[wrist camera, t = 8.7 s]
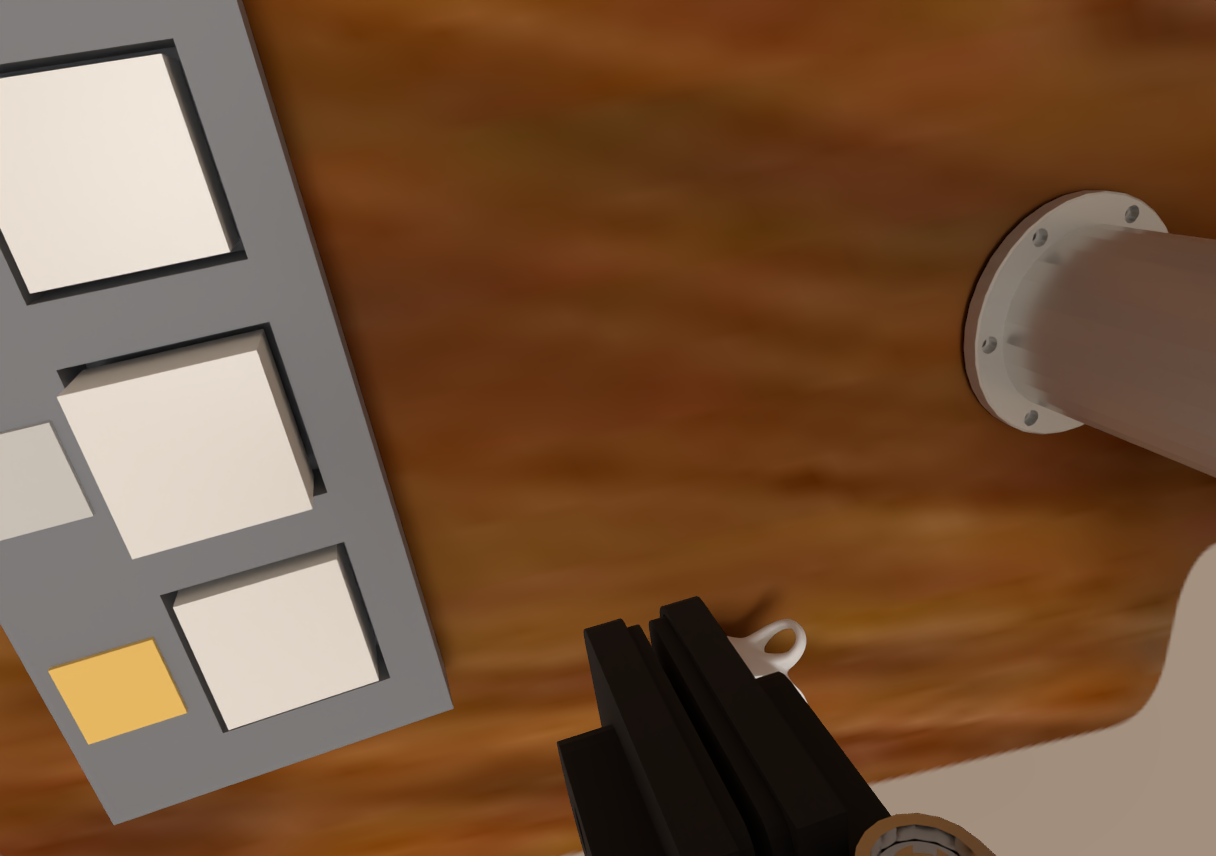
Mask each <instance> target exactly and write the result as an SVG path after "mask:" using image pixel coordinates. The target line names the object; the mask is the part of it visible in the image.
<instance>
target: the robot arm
mask: <svg viewBox="0 0 1216 856" xmlns="http://www.w3.org/2000/svg"><path fill="white" fill-rule="evenodd" d="M964 357H965V365H966V372H967V375H968V378H969V381H970V384H971V387H972V390H973V392H974V393H975V395H976V397H977V398H978V400H979V402H980V403H981V405H982V406H983V407H984V408H985V409H986V410H987V411H988V412H989V413H990V414H991V415H992V416H993V417H995V418H997V419H998V420H1000V421H1002V422H1004V423H1006V424H1007V425H1010V426H1012V427H1014V428H1017V429H1019V430H1021V431H1024V432H1028V433H1036V434H1052V433H1061V432H1064V431H1068V430H1071V429H1074V428H1077V427H1080V426H1082V425H1084V424H1086V425H1089V426H1091V427H1094V428H1096V429H1099V430H1101V431H1103V432H1106V433H1108V434H1111V435H1113V436H1116V437H1118V438H1120V439H1123V440H1125V441H1128V442H1130V443H1133V444H1135V445H1137V446H1140V447H1142V448H1145V449H1147V450H1150V451H1152V452H1154V453H1157V454H1159V455H1162V456H1164V457H1167V458H1169V459H1171V460H1174V461H1176V462H1179V463H1181V464H1184V465H1186V466H1188V467H1191V468H1193V469H1196V470H1198V471H1201V472H1203V473H1205V474H1208V475H1210V476H1213V477H1215V478H1216V240H1214V239H1207V238H1200V237H1193V236H1186V235H1179V234H1171V233H1168V230H1167V228H1166V226H1165V224H1164V223H1163V221H1162V220H1161V219H1160V217H1159V216H1158V214H1157V213H1156V212H1155V211H1154V210H1153V209H1152V208H1151V207H1149V206H1148V205H1147V204H1146V203H1145V202H1143V201H1142V200H1140V199H1138V198H1135V197H1133V196H1131V195H1128V194H1126V193H1119V192H1112V191H1105V190H1083V191H1079V192H1075V193H1071V194H1067V195H1063V196H1061V197H1059V198H1057V199H1055V200H1053V201H1051V202H1049V203H1047V204H1045V205H1043V206H1042V207H1040V208H1039V209H1037V210H1036V211H1035V212H1033V213H1032V214H1030V215H1029V216H1028V217H1026V218H1025V219H1024V220H1023V221H1022V222H1021V223H1020V224H1019V225H1018V226H1017V227H1016V228H1015V229H1014V230H1013V231H1012V232H1011V233H1010V234H1009V235H1008V236H1007V237H1006V238H1005V240H1004V241H1003V242H1002V244H1001V245H1000V246H999V248H998V249H997V250H996V252H995V253H994V254H993V256H992V257H991V259H990V261H989V262H988V264H987V266H986V268H985V270H984V272H983V273H982V275H981V277H980V279H979V281H978V284H977V286H976V289H975V292H974V294H973V297H972V300H971V302H970V306H969V311H968V316H967V320H966V325H965V335H964ZM649 631H650V637H651V643H652V647H651V645H650V643H649V641H648V639H647V638H646V636H645V634H644V632H643V630H642V628H641V627H640V625H634V626H631V627H628V628H627V627H626V625H625V623H624V621H623V620H622V619H617V620H614V621H611V622H607V623H604V624H600V625H597V626H594V627H590V628H587V629H584V638H585V644H586V649H587V654H588V659H589V664H590V669H591V674H592V679H593V684H594V689H595V695H596V700H597V705H598V710H599V715H600V720H601V725H602V728H599V729H595V730H592V731H589V732H586V733H583V734H580V735H577V736H573V737H570V738H567V739H564V740H561V741H558V742H557V746H558V751H559V756H560V760H561V765H562V769H563V773H564V778H565V782H566V786H567V791H568V795H569V799H570V803H571V807H572V811H573V814H574V818H575V822H576V826H577V829H578V833H579V837H580V840H581V844H582V848H583V851H584V854H585V856H996V855H995V854H994V853H993V852H992V851H991V850H990V849H989V848H987V847H986V846H985V845H984V844H983V843H982V842H981V841H980V840H979V839H977V838H976V837H975V836H973V835H972V834H971V833H969V832H968V831H966V830H965V829H964V828H962V827H961V826H959V825H957V824H954V823H952V822H950V821H947V820H945V819H943V818H940V817H936V816H930V815H925V814H920V813H911V814H896V815H893V816H891V815H890V814H889V812H888V811H887V810H886V808H885V807H884V806H883V804H882V803H881V802H880V800H879V799H878V798H877V796H876V795H875V793H874V792H873V791H872V790H871V788H870V787H869V785H868V784H867V783H866V781H865V780H864V779H863V777H862V776H861V775H860V773H859V772H858V771H857V769H856V768H855V767H854V765H853V764H852V763H851V761H850V760H849V759H848V757H847V756H846V755H845V753H844V752H843V751H842V749H841V748H840V747H839V745H838V744H837V743H836V741H835V740H834V739H833V737H832V736H831V735H830V733H829V732H828V730H827V729H826V728H825V726H824V725H823V724H822V722H821V721H820V720H819V718H818V717H817V716H816V714H815V713H814V712H813V710H812V709H811V708H810V706H809V705H808V704H807V702H806V701H805V700H804V698H803V697H802V696H801V694H800V693H799V692H798V690H797V689H796V688H795V686H794V685H793V684H792V682H791V681H790V680H789V679H788V678H787V677H786V675H785V674H783V673H781V672H779V671H778V672H774V673H771V674H768V675H765V676H762V677H759V678H755V677H754V675H753V674H752V672H751V671H750V669H749V668H748V666H747V665H746V664H745V662H744V661H743V659H742V658H741V656H740V655H739V653H738V652H737V650H736V649H735V648H734V646H733V645H732V643H731V642H730V640H729V639H728V637H727V636H726V634H725V633H724V632H723V630H722V629H721V627H720V626H719V624H718V623H717V621H716V620H715V618H714V617H713V616H712V614H711V613H710V611H709V610H708V608H707V607H706V605H705V604H704V602H703V601H702V600H701V599H700V598H699V597H697V596H696V597H692V598H689V599H685V600H682V601H679V602H675V603H672V604H668V605H665V606H662V607H661V608H660V618H658V619H655V620H651V621H650V622H649Z"/></svg>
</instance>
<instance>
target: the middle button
mask: <svg viewBox="0 0 1216 856" xmlns="http://www.w3.org/2000/svg"><path fill="white" fill-rule="evenodd" d="M57 399H58V401H59V403H60V405H61V407H62V410H63V412H64V414H65V416H66V418H67V420H68V422H69V425H70V427H71V429H72V431H73V433H74V435H75V437H76V440H77V442H78V444H79V446H80V448H81V450H82V453H83V455H84V457H85V459H86V461H87V463H88V465H89V468H90V470H91V472H92V474H93V476H94V478H95V480H96V483H97V485H98V487H99V489H100V491H101V493H102V495H103V498H104V500H105V502H106V504H107V506H108V508H109V511H110V513H111V515H112V517H113V519H114V521H115V523H116V526H117V528H118V530H119V532H120V534H121V536H122V538H123V541H124V543H125V545H126V547H127V549H128V551H129V553H130V556H131V558H132V559H136V558H139V557H143V556H147V555H150V554H154V553H157V552H161V551H164V550H168V549H172V548H175V547H179V546H182V545H186V544H190V543H193V542H197V541H200V540H204V539H207V538H211V537H215V536H218V535H222V534H225V533H229V532H233V531H236V530H240V529H243V528H247V527H250V526H254V525H258V524H261V523H265V522H268V521H272V520H276V519H279V518H283V517H286V516H290V515H293V514H297V513H301V512H304V511H308V510H311V509H313V488H314V475H313V472H312V469H311V466H310V463H309V460H308V457H307V454H306V451H305V448H304V445H303V443H302V440H301V437H300V434H299V431H298V428H297V425H296V422H295V419H294V416H293V413H292V411H291V408H290V405H289V402H288V399H287V396H286V393H285V390H284V387H283V384H282V382H281V379H280V376H279V373H278V370H277V367H276V364H275V361H274V358H273V355H272V352H271V350H270V347H269V344H268V341H267V338H266V335H265V332H264V329H260V330H256V331H251V332H247V333H243V334H238V335H234V336H230V337H225V338H221V339H217V340H212V341H208V342H203V343H199V344H195V345H190V346H186V347H182V348H177V349H173V350H169V351H164V352H160V353H155V354H151V355H147V356H142V357H138V358H134V359H129V360H125V361H120V362H116V363H112V364H107V365H103V366H99V367H94V368H90V369H86V370H82V371H81V372H80V373H79V374H78V375H77V376H76V378H75V379H74V380H73V381H72V382H71V383H70V384H69V385H68V386H67V387H66V388H65V389H64V390H63V391H62V392H61V393H60V394H59V395H58V396H57Z"/></svg>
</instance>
